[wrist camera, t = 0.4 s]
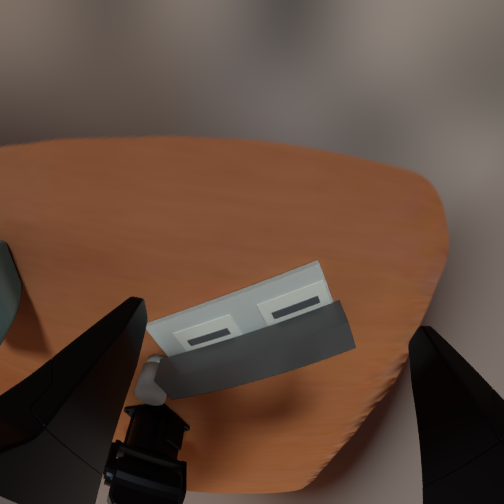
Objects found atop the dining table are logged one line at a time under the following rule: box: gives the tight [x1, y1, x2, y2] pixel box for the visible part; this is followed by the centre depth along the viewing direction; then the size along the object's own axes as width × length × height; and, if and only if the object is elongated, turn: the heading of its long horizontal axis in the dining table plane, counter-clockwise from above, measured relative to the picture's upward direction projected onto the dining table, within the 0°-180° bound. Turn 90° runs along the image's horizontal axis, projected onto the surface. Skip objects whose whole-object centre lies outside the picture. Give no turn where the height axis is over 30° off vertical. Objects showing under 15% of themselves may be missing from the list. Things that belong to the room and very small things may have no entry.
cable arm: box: [134, 300, 356, 406], centre depth 24 cm, size 20×3×3 cm, turn 114°
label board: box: [146, 260, 333, 363], centre depth 26 cm, size 19×10×1 cm, turn 114°
